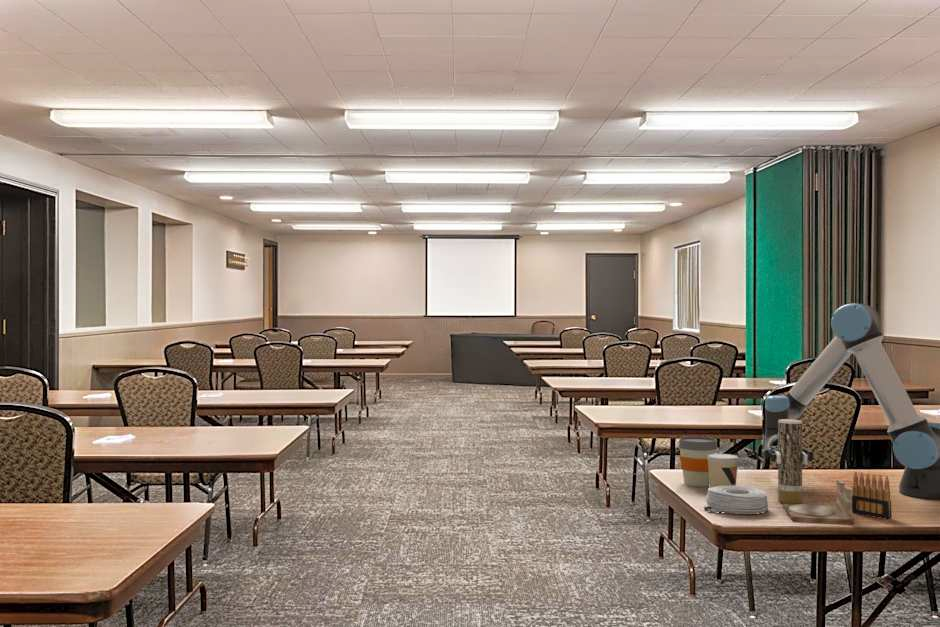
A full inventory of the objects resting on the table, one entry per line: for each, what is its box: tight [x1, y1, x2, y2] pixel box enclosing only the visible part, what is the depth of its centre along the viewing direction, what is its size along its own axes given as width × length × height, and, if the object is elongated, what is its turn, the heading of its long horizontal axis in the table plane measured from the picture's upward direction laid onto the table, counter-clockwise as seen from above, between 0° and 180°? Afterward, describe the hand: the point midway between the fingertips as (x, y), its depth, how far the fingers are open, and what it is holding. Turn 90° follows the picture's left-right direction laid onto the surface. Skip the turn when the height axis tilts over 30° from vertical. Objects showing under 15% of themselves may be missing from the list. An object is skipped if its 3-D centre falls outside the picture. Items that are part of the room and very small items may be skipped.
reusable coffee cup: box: [678, 436, 718, 487], centre depth 279 cm, size 13×13×15 cm
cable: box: [703, 485, 769, 515], centre depth 244 cm, size 18×18×6 cm
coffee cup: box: [707, 453, 739, 488], centre depth 264 cm, size 9×9×12 cm
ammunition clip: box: [852, 471, 893, 520], centre depth 235 cm, size 11×2×12 cm, turn 40°
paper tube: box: [777, 419, 803, 505], centre depth 251 cm, size 7×7×25 cm
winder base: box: [782, 479, 855, 525], centre depth 235 cm, size 16×16×9 cm
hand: (792, 459), depth 246 cm, fingers closed on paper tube, 7 cm apart
